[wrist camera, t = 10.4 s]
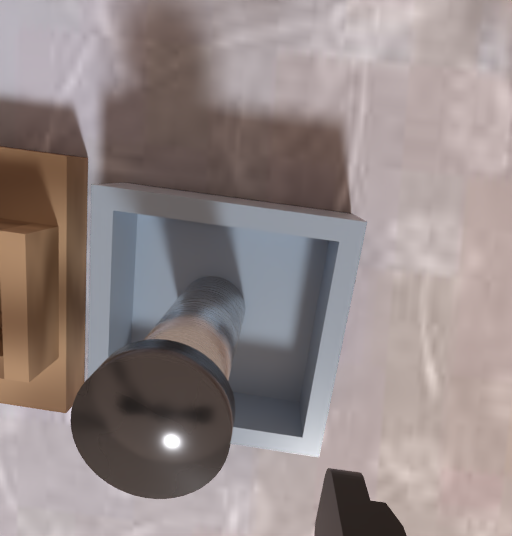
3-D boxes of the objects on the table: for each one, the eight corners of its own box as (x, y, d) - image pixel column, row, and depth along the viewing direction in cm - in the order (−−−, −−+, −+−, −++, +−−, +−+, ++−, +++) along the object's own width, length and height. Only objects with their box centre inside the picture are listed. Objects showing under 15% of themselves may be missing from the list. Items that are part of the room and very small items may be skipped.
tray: (124, 182, 20) (91, 184, 16) (351, 213, 19) (367, 222, 16) (116, 383, 23) (86, 421, 19) (312, 413, 22) (319, 457, 19)
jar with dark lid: (174, 261, 20) (71, 346, 10) (259, 273, 20) (239, 371, 10) (168, 340, 21) (70, 485, 11) (249, 352, 21) (221, 510, 11)
